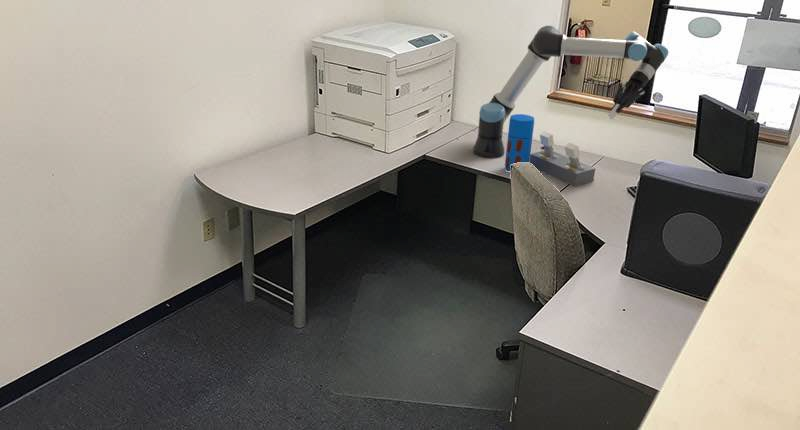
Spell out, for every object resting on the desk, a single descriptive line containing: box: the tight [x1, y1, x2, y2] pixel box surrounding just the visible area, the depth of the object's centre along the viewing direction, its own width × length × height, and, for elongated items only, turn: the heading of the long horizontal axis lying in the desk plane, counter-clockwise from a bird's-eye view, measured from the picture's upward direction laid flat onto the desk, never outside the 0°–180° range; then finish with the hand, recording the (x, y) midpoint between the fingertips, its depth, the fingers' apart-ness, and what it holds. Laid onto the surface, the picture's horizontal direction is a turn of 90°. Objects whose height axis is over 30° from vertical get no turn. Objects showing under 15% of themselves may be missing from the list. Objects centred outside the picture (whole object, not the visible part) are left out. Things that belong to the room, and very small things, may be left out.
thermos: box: [504, 113, 535, 171], centre depth 281 cm, size 11×11×25 cm
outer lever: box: [564, 142, 581, 168], centre depth 272 cm, size 5×3×11 cm, turn 34°
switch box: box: [529, 149, 596, 187], centre depth 283 cm, size 28×12×7 cm, turn 34°
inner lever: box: [539, 130, 555, 157], centre depth 284 cm, size 5×3×11 cm, turn 34°
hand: (610, 117), depth 277 cm, fingers closed
